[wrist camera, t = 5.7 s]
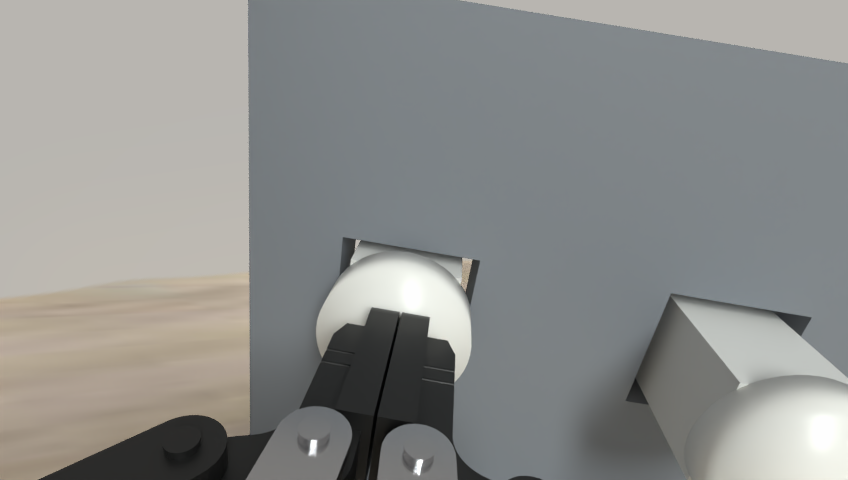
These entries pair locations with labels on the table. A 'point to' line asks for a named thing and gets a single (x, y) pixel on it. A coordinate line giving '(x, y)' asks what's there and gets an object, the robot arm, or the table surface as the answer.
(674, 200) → the button panel
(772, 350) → the middle button
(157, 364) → the table surface
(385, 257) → the button
